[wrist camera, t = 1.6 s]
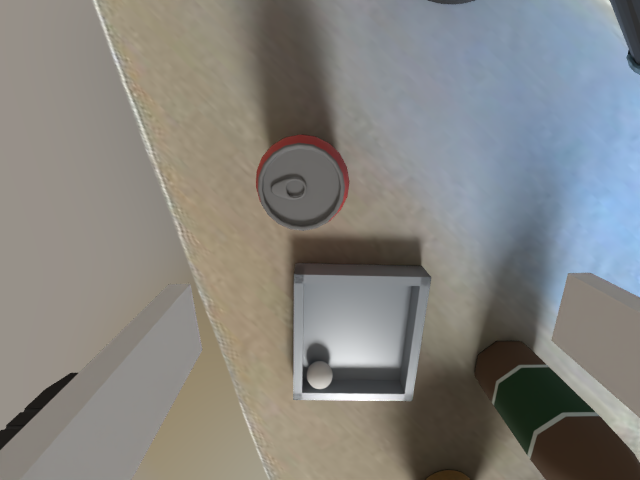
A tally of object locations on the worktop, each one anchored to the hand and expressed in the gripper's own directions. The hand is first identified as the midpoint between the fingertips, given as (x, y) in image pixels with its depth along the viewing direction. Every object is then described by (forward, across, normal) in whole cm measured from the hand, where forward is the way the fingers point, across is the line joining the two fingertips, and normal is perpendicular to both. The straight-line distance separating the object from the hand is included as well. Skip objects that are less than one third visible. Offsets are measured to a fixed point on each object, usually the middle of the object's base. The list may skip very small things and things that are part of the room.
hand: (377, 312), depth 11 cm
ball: (+21, -3, -20) cm, 29 cm away
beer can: (+22, -3, +3) cm, 23 cm away
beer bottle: (+22, +20, -22) cm, 37 cm away
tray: (+22, +2, -16) cm, 27 cm away
